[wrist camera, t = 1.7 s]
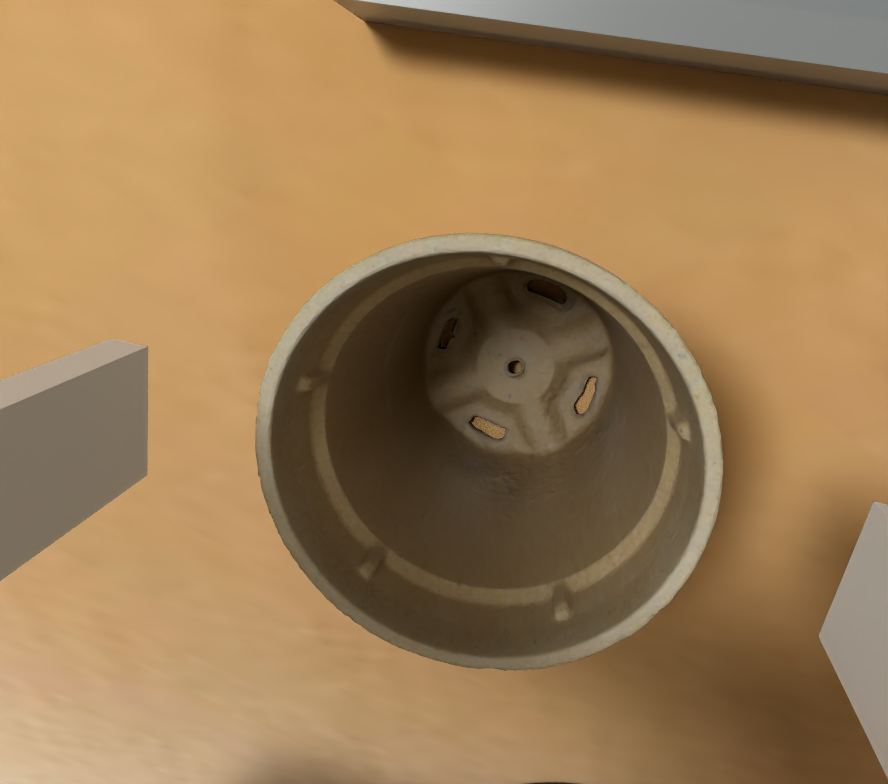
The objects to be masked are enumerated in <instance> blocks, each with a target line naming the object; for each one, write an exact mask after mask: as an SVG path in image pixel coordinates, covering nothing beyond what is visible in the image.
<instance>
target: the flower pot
mask: <svg viewBox="0 0 888 784" xmlns="http://www.w3.org/2000/svg"><path fill="white" fill-rule="evenodd" d="M530 280H543V281H547V282H549V283H550V284H552V285H556V286H558V287H560V288H561V289H562V290H563V291H564V293H565V294H566V297H567V300H566V302H565V303H563V304H559V303H557V302H555V301H553V300H551V299H549V298H546V297H544V296H541V295H538V294H536V293H533V292H529V291H528V290H527V283H528V282H529V281H530ZM451 319H457V323H456V325H455V328H454V330H453V334H454V335H455V338H453V337H452V338H451V339H450V340H449V343H448V344H447V347H446V349H440V348H438V345H439V342H440V338H441V335H442V333H443V330H444V327H445V325H446V324H447V322H448V321H449V320H451ZM515 360H518V361H519V362H520V363H521V366H522V369H521V371H520V372H519V373H516V374H512V373H511V372H510V371H509V369H508V365H509V363H510V362H512V361H515ZM589 377H596V378H597V380H596V383H595V392H594V395H593V398H592V400H591V403H590V405H589V407H588V409H587V410H586V411H585V412H584V413H583V414H576V412H575V409H574V404H575V402H576V400H577V399H578V397H579V396H580V395H581V393H582V392H583V389H584V387H585V384H586V381H587V380H588V378H589ZM257 406H258V410H257V417H256V440H255V450H256V458H257V465H258V475H259V477H260V478H261V487H262V491H263V494H264V498H265V501H266V503H267V506H268V509H269V513H270V514H271V517H272V518H273V521H274V523H275V526H276V528H277V530H278V533H279V535H280V536H281V538H282V540H283V542H284V545H285V546H286V547H287V549H288V550H289V551H290V553H291V555H292V557H293V558H294V559H295V561H296V562H297V563H298V565H299V567H300V568H301V569H302V570H303V572H304V573H305V574H306V575H307V577H308V578H309V579H310V580H311V582H312V583H313V584H314V585H315V586H316V588H318V589H319V590H320V591H321V593H322V594H323V595H324V596H325V597H326V598H327V599H328V600H329V601H330V602H331V603H332V604H334V605H335V606H336V608H337V609H339V610H340V611H341V612H342V613H343V614H344V615H347V616H349V617H350V618H351V619H352V620H353V621H354V622H355V623H357V624H359V625H361V626H362V627H363V628H365V629H366V630H367V631H369V632H370V633H372V634H374V635H376V636H378V637H379V638H381V639H383V640H385V641H387V642H389V643H391V644H392V645H396V646H397V647H399V648H402V649H405V650H407V651H410V652H413V653H417V654H418V655H420V656H424V657H427V658H430V659H433V660H437V661H441V662H445V663H448V664H452V665H457V666H462V667H467V668H479V669H481V668H494V669H499V670H504V671H506V670H526V669H532V670H533V669H541V668H546V667H550V666H555V665H557V664H564V663H568V662H572V661H575V660H580V659H582V658H583V657H588V656H590V655H592V654H594V653H597V652H600V651H602V650H604V649H606V648H608V647H609V646H611V645H613V644H615V643H617V642H619V641H620V640H622V639H625V638H627V637H629V636H630V635H632V634H633V633H635V632H636V631H637V630H639V629H640V628H641V627H643V626H644V625H645V624H647V623H648V622H649V620H650V619H651V618H653V617H654V616H655V615H656V614H657V613H658V612H659V611H660V610H661V609H662V608H663V607H665V606H666V605H667V604H668V603H669V602H670V601H671V600H672V599H673V597H674V596H675V594H676V593H677V592H678V590H679V589H680V588H681V587H682V586H683V585H684V583H685V581H686V580H687V579H688V578H689V576H690V575H691V573H692V572H693V570H694V568H695V566H696V565H697V563H698V561H699V559H700V557H701V555H702V553H703V551H704V550H705V547H706V544H707V542H708V540H709V537H710V535H711V533H712V530H713V527H714V524H715V521H716V518H717V513H718V509H719V504H720V499H721V493H722V478H723V456H722V444H721V433H720V429H719V423H718V418H717V411H716V408H715V406H714V403H713V400H712V396H711V393H710V391H709V389H708V386H707V384H706V381H705V379H704V377H703V375H702V372H701V370H700V368H699V366H698V365H697V363H696V361H695V359H694V357H693V356H692V354H691V353H690V351H689V350H688V348H687V347H686V345H685V344H684V342H683V340H682V339H681V337H680V336H679V334H678V333H677V331H676V330H675V329H674V328H673V327H672V326H671V324H670V323H669V322H668V321H667V320H666V319H665V318H664V317H663V315H662V314H661V313H660V312H659V311H658V310H657V309H656V308H655V307H654V306H653V305H652V304H650V303H649V302H648V301H647V300H646V299H645V298H644V297H643V296H642V295H641V294H639V293H638V292H637V291H636V290H634V289H633V288H632V287H630V286H629V285H628V284H626V283H625V282H624V281H622V280H621V279H620V278H618V277H617V276H615V275H614V274H612V273H610V272H609V271H607V270H605V269H604V268H602V267H600V266H598V265H596V264H595V263H593V262H591V261H589V260H588V259H586V258H583V257H581V256H579V255H577V254H574V253H572V252H569V251H566V250H564V249H561V248H558V247H556V246H553V245H549V244H546V243H542V242H538V241H533V240H529V239H524V238H519V237H513V236H508V235H497V234H484V233H459V234H449V235H439V236H431V237H426V238H420V239H415V240H411V241H408V242H404V243H401V244H398V245H395V246H393V247H390V248H387V249H385V250H382V251H379V252H377V253H375V254H373V255H371V256H369V257H367V258H365V259H363V260H361V261H360V262H358V263H356V264H354V265H353V266H351V267H349V268H348V269H346V270H344V271H343V272H341V273H340V274H339V275H337V276H336V277H334V278H333V279H331V280H330V281H329V282H328V283H327V284H326V285H324V286H323V287H322V288H321V289H320V290H319V291H318V292H317V293H316V294H315V295H313V296H312V297H311V299H310V300H309V301H308V302H307V303H306V304H305V305H304V306H303V307H302V309H301V310H300V312H299V313H298V314H297V315H296V316H295V317H294V319H293V320H292V322H291V323H290V324H289V325H288V327H287V329H286V331H285V332H284V334H283V335H282V337H281V339H280V341H279V343H278V345H277V347H276V349H275V350H274V352H273V354H272V356H271V358H270V360H269V363H268V367H267V370H266V373H265V375H264V379H263V381H262V384H261V390H260V400H259V402H258V404H257ZM474 416H477V417H480V418H482V419H484V420H487V421H489V422H491V423H493V424H495V425H498V426H500V427H505V435H504V437H503V438H501V439H493V438H491V437H489V436H487V435H486V434H485V433H483V432H481V430H479V429H475V428H474V427H473V426H472V425H471V424H470V422H469V421H470V420H471V419H472V417H474Z"/></svg>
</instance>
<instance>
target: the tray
mask: <svg viewBox="0 0 888 784" xmlns="http://www.w3.org/2000/svg"><path fill="white" fill-rule="evenodd" d="M334 1H335V2H337V3H338V4H340V5H341V6H343V7H344V8H346V9H347V10H349V11H350V12H351V13H353V14H354V15H356V16H357V17H359V18H360V19H362V20H363V21H368V22H375V23H382V24H389V25H396V26H404V27H411V28H418V29H425V30H432V31H439V32H446V33H453V34H460V35H467V36H474V37H481V38H488V39H495V40H502V41H509V42H516V43H523V44H530V45H537V46H544V47H552V48H559V49H566V50H573V51H580V52H587V53H594V54H601V55H608V56H615V57H622V58H629V59H636V60H643V61H650V62H657V63H664V64H671V65H678V66H685V67H692V68H700V69H707V70H714V71H721V72H728V73H735V74H742V75H749V76H756V77H763V78H770V79H777V80H784V81H791V82H798V83H805V84H812V85H819V86H826V87H833V88H840V89H848V90H855V91H862V92H869V93H876V94H883V95H888V0H334Z"/></svg>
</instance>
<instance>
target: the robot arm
mask: <svg viewBox="0 0 888 784" xmlns="http://www.w3.org/2000/svg"><path fill="white" fill-rule="evenodd" d="M147 439H148V346H144V345H140V344H135V343H130V342H126V341H121V340H116V339H112V338H111V339H109V340H106V341H103V342H101V343H98V344H95V345H93V346H90V347H87V348H85V349H82V350H79V351H77V352H74V353H71V354H69V355H66V356H63V357H61V358H58V359H56V360H53V361H50V362H48V363H45V364H42V365H40V366H37V367H34V368H32V369H29V370H26V371H24V372H21V373H18V374H16V375H13V376H10V377H8V378H5V379H2V380H0V581H1V580H2V579H3V578H5V577H6V576H8V575H9V574H10V573H12V572H13V571H15V570H16V569H17V568H19V567H20V566H22V565H23V564H24V563H26V562H27V561H28V560H30V559H31V558H33V557H34V556H35V555H37V554H38V553H40V552H41V551H42V550H44V549H45V548H47V547H48V546H49V545H51V544H52V543H54V542H55V541H56V540H58V539H59V538H60V537H62V536H63V535H65V534H66V533H67V532H69V531H70V530H72V529H73V528H74V527H76V526H77V525H79V524H80V523H81V522H83V521H84V520H86V519H87V518H88V517H90V516H91V515H92V514H94V513H95V512H97V511H98V510H99V509H101V508H102V507H104V506H105V505H106V504H108V503H109V502H111V501H112V500H113V499H115V498H116V497H118V496H119V495H120V494H122V493H123V492H124V491H126V490H127V489H129V488H130V487H131V486H133V485H134V484H136V483H137V482H138V481H140V480H141V479H143V478H144V477H145V476H147ZM819 639H820V641H821V643H822V645H823V647H824V649H825V651H826V653H827V655H828V657H829V659H830V661H831V663H832V665H833V667H834V669H835V671H836V674H837V676H838V678H839V680H840V682H841V684H842V686H843V688H844V690H845V692H846V694H847V696H848V698H849V700H850V702H851V704H852V706H853V709H854V711H855V713H856V715H857V717H858V719H859V721H860V723H861V725H862V727H863V729H864V731H865V733H866V735H867V737H868V739H869V741H870V743H871V746H872V748H873V750H874V752H875V754H876V756H877V758H878V760H879V762H880V764H881V766H882V768H883V770H884V772H885V774H886V776H887V778H888V504H884V503H879V502H873V504H872V507H871V509H870V512H869V514H868V517H867V519H866V521H865V524H864V526H863V529H862V531H861V534H860V536H859V538H858V541H857V543H856V546H855V548H854V551H853V553H852V556H851V558H850V560H849V563H848V565H847V568H846V570H845V573H844V575H843V577H842V580H841V582H840V585H839V587H838V590H837V592H836V594H835V597H834V599H833V602H832V604H831V607H830V609H829V612H828V614H827V616H826V619H825V621H824V624H823V626H822V629H821V631H820V633H819Z"/></svg>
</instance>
